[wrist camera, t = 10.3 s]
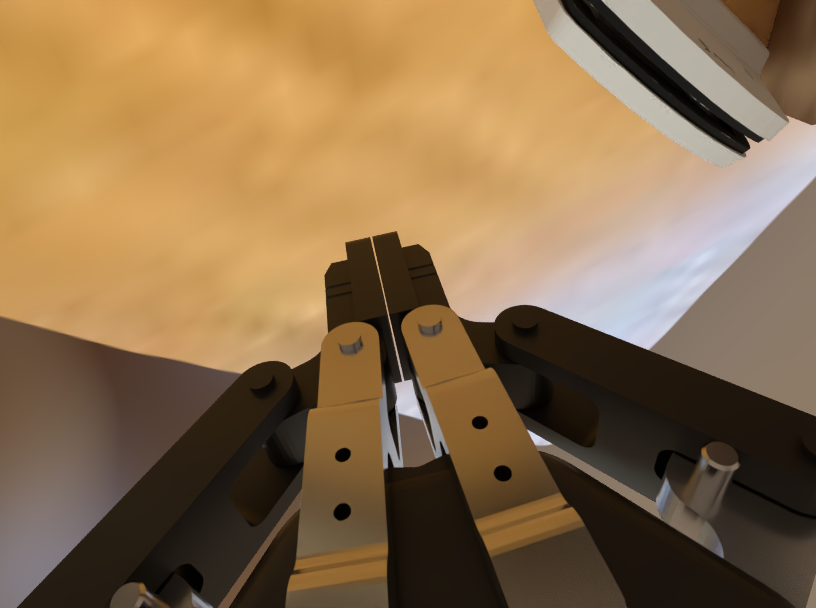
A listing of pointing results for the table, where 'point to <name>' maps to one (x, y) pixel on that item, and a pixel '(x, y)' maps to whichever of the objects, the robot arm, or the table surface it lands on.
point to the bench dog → (793, 60)
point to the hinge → (674, 68)
